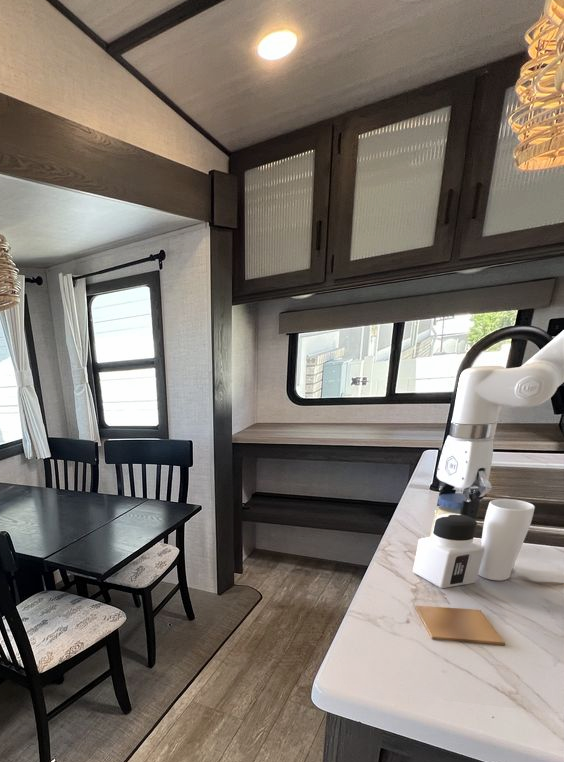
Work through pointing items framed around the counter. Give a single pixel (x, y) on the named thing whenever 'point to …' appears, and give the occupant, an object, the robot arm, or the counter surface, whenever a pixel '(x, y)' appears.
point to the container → (449, 552)
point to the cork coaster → (458, 625)
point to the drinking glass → (503, 536)
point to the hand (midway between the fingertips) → (455, 512)
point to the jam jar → (441, 511)
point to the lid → (451, 500)
